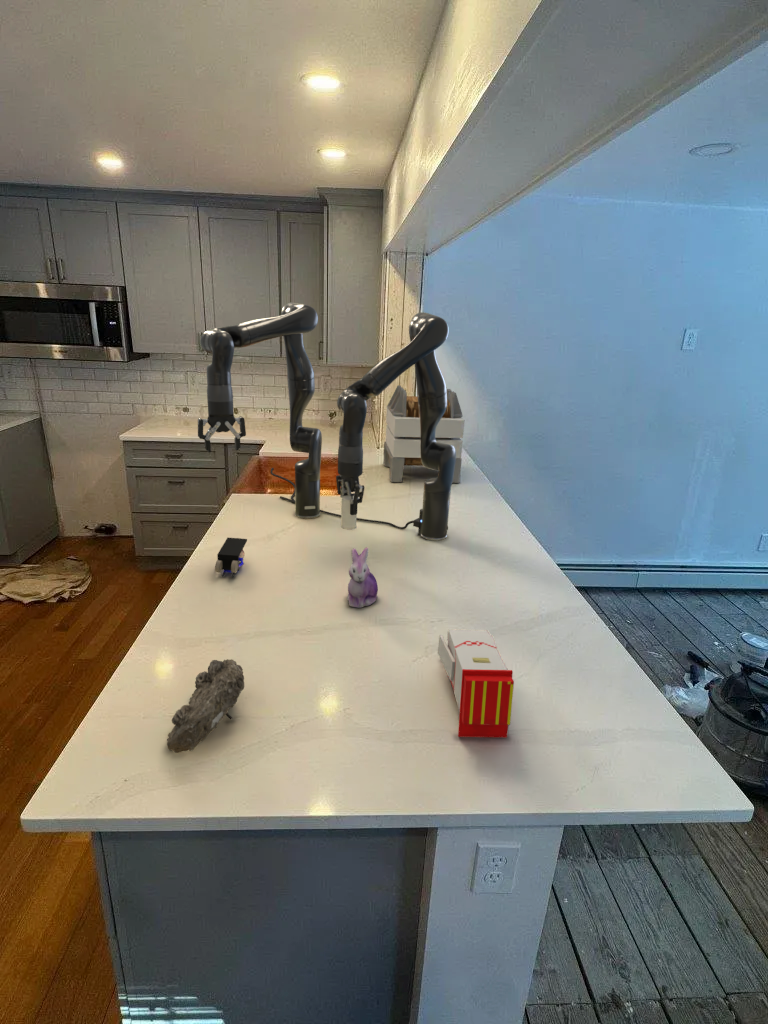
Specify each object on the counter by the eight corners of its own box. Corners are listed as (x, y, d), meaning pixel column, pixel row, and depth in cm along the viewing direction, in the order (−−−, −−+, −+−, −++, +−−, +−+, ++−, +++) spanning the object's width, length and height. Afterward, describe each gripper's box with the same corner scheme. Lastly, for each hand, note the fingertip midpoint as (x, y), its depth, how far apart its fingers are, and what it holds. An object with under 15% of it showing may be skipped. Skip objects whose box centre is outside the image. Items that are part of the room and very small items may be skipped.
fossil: (192, 660, 117) (244, 628, 112) (224, 691, 120) (276, 661, 115) (142, 746, 98) (202, 712, 93) (182, 779, 101) (242, 748, 96)
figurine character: (238, 584, 162) (249, 557, 175) (236, 562, 158) (247, 536, 172) (215, 584, 161) (227, 556, 175) (212, 561, 158) (225, 535, 171)
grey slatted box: (382, 463, 289) (386, 382, 275) (445, 464, 293) (451, 384, 279) (390, 482, 257) (394, 392, 243) (460, 483, 261) (468, 394, 247)
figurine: (354, 612, 147) (355, 559, 142) (338, 595, 155) (339, 544, 150) (386, 605, 151) (388, 553, 146) (369, 588, 160) (371, 539, 155)
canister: (338, 525, 179) (339, 496, 176) (352, 523, 181) (353, 494, 178) (344, 530, 175) (344, 500, 172) (358, 528, 177) (359, 499, 174)
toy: (488, 613, 130) (523, 677, 101) (484, 667, 133) (517, 744, 104) (435, 612, 130) (455, 676, 101) (432, 666, 133) (451, 743, 103)
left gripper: (240, 396, 179) (243, 446, 184) (193, 397, 173) (197, 449, 178) (246, 400, 172) (248, 452, 178) (198, 401, 166) (201, 455, 172)
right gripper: (328, 454, 174) (327, 506, 180) (351, 465, 163) (350, 521, 169) (349, 452, 178) (348, 503, 184) (373, 463, 167) (371, 517, 173)
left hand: (223, 450), depth 178 cm, fingers open, 8 cm apart
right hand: (349, 511), depth 176 cm, fingers closed on canister, 5 cm apart
